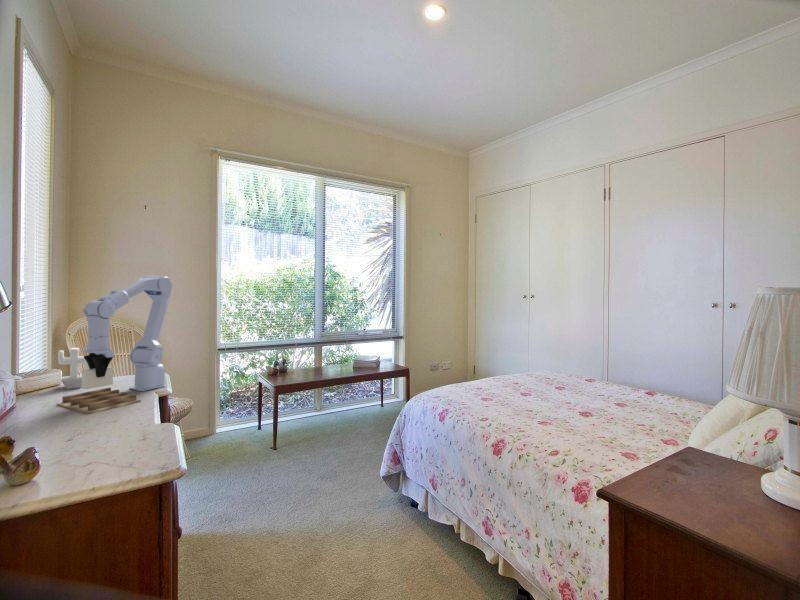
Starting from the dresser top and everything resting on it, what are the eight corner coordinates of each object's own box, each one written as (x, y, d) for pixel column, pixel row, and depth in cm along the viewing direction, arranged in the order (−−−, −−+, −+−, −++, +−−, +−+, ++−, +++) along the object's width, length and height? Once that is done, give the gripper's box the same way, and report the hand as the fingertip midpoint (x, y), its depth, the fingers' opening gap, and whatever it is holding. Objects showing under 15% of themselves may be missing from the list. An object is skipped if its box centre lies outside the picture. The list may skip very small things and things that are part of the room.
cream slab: (108, 383, 135) (108, 366, 135) (112, 384, 134) (113, 367, 133) (81, 388, 128) (81, 370, 127) (85, 389, 126) (86, 371, 126)
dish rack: (110, 393, 141) (110, 386, 141) (141, 401, 134) (141, 393, 134) (57, 404, 127) (57, 396, 127) (87, 414, 119) (87, 405, 119)
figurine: (89, 387, 148) (90, 348, 148) (57, 390, 143) (57, 350, 142) (89, 383, 154) (90, 345, 154) (58, 386, 148) (58, 347, 148)
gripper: (73, 335, 130) (72, 375, 130) (97, 339, 123) (96, 381, 124) (97, 333, 136) (96, 371, 137) (121, 337, 130) (120, 377, 130)
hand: (98, 376), depth 131 cm, fingers closed on cream slab, 2 cm apart
